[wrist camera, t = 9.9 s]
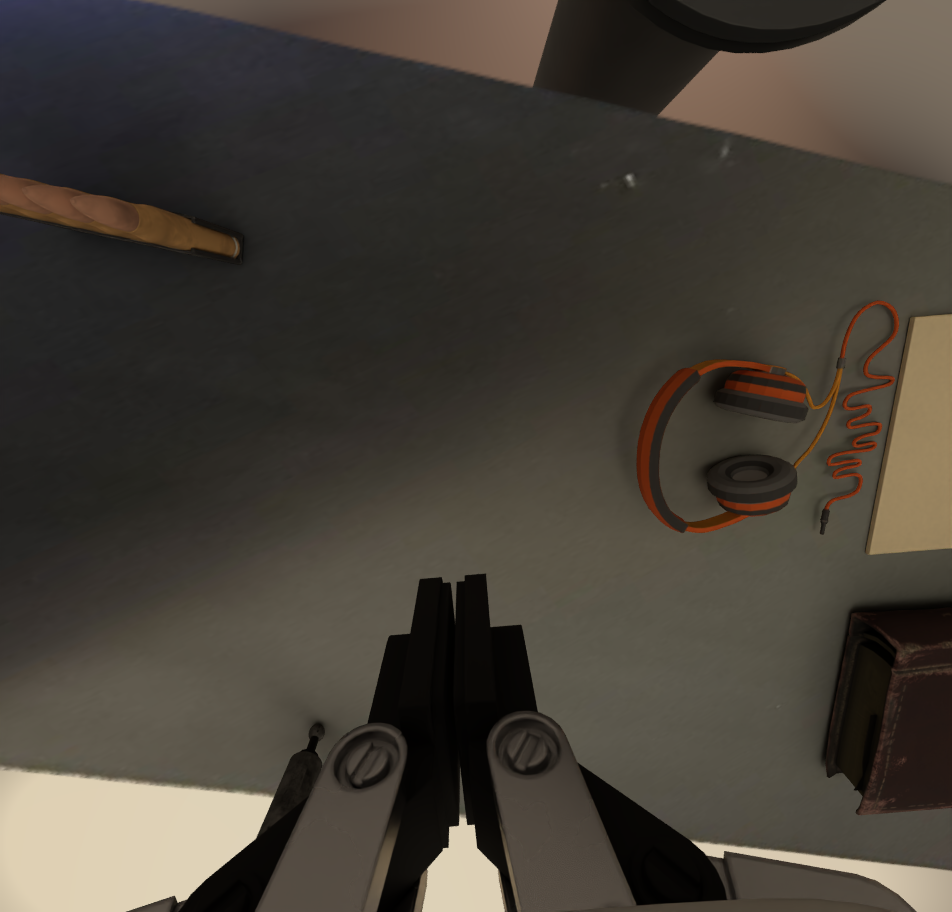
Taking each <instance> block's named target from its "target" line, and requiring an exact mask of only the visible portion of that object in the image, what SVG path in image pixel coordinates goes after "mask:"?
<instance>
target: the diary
mask: <svg viewBox="0 0 952 912" xmlns="http://www.w3.org/2000/svg"><path fill="white" fill-rule="evenodd" d="M849 634H850V636H848V637H847V643H846V648H845V653H844V658H843V663H842V668H841V673H840V678H839V683H838V689H837V694H836V699H835V704H834V709H833V714H832V719H831V724H830V730H829V738H828V746H827V754H826V762H825V765H826V772H827V777H828V778H830V777H832V776H833V775H835V774H836V773H844V774H845V776H846V777H847V778H848V779H849V780H850V782H851V783H852V784H853V785H854V786H855V789H854V790H858V791H859V792H860V794H861V795H862V796H863V797H862V800H861V803H860V806H859V808H858V809H857V810H856V814H858V815H868V814H880V813H893V812H905V811H918V810H931V809H943V808H952V607H948V608H939V609H923V610H900V611H878V612H861V613H852V614H851V622H850V627H849Z"/></svg>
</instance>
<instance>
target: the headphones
mask: <svg viewBox="0 0 952 912" xmlns="http://www.w3.org/2000/svg"><path fill="white" fill-rule="evenodd" d="M876 304H881V305H884V306H886V307H887V308H888V309H890V311H891V312H892V314H893V318H894V331H893V333H892V335H891V336H890V337H889V338H888V340H887V341H886V342H884V343H883V344H882V345H881V346H880V347H879V348H878V349H876V350H875V351H874V352H873V353H872V354H871V355H870V356H869V357H868V358H867V360H866V362H865V364H864V368H863V372H864V375H865V376H866V377H869V378H874V379H890V382H889V383H886V384H883V385H880V386H876V387H871V388H867V389H863V390H859V391H856V392H852V393H850V394H849V395H847V396H846V397H845V399H844V401H843V404H842V405H843V408H844V409H846V410H857V409H861V408H868V410H867V412H866V413H865V414H863V415H861V416H859V417H855V418H852V419H850V420H848V421H847V424H846V426H847V428H848V429H855V428H860V427H865V426H872V425H878V429H877V430H876V431H875V432H873V433H868V434H864V435H861V436H859V437H857V438H855V439H854V440H853V441H852V445H853V447H863V446H868V445H873V446H872V447H870V448H867V449H859V450H851V451H843V452H839V453H835V454H832V455H831V456H829V457H828V459H827V465H829V466H835V465H840V464H845V463H852V462H858V463H857V464H854V465H850V466H845V467H842V468H838V469H836V470H835V471H834V472H833V475H832V477H833V478H834V479H839V478H844V477H850V476H857V477H858V478H859V483H858V486H857V488H856V490H855V491H853V492H852V493H850V494H848V495H844V496H840V497H836V498H833V499H831V500H830V501H829V502H828V503H827V504H826V506H825V508H824V509H823V510H822V516H821V519H820V520H821V523H822V524H821V530H820V534H822V535H824V531H825V526H826V524H827V523H828V517H829V512H830V511H829V509H828V508H829V506H830V505H831V504H832V503H833V502H834V501H837V500H841V499H845V498H849V497H851V496H853V495H855V494H857V493H858V492H859V490H860V489H861V486H862V482H863V478H862V476H861V475H860V474H858V473H850V474H844V475H839V476H836V474H837V473H838V472H840V471H843V470H846V469H850V468H855V467H858V466H860V465H861V464H862V461H861V460H860V459H853V460H846V461H840V462H835V463H831V459H832V458H834V457H836V456H839V455H843V454H850V453H859V452H867V451H871V450H873V449H875V448H876V446H877V443H876V442H868V443H863V444H857V445H856V442H857V441H858V440H860V439H863V438H865V437H868V436H873V435H876V434H878V433H880V431H881V429H882V424H881V423H879V422H872V423H865V424H860V425H855V426H850V424H851V422H853V421H856V420H859V419H862V418H864V417H866V416H868V415H869V414H870V413H871V411H872V406H871V405H869V404H866V405H861V406H857V407H847V402H848V400H849V399H850V397H852V396H854V395H856V394H860V393H864V392H868V391H871V390H876V389H880V388H884V387H887V386H890V385H892V384H893V383H894V381H895V379H894V377H892V376H876V375H871V374H869V373H868V365H869V363H870V361H871V359H872V358H873V357H874V356H875V355H876V354H877V353H878V352H880V351H881V350H882V349H883V348H884V347H885V346H886V345H888V344H889V343H890V342H891V341H892V340H893V339H894V337H895V336H896V334H897V332H898V327H899V319H898V315H897V312H896V310H895V309H894V307H893V306H891V305H890V304H889V303H886V302H884V301H875V302H872V303H869V304H868V305H866V306H864V307H863V308H862V309H861V310H860V311H858V313H857V314H856V315H855V316H854V318H853V319H852V321H851V323H850V325H849V327H848V329H847V332H846V335H845V337H844V341H843V345H842V349H841V354H840V358H838V361H837V366H836V368H837V373H836V377H835V380H834V383H833V386H832V388H831V390H830V393H829V394H828V396H827V398H826V399H825V400H824V402H823V403H821V404H820V405H818V406H814V405H813V402H812V400H811V397H810V395H809V392H808V390H807V388H806V386H805V385H804V383H803V382H802V381H801V380H800V379H799V378H798V377H796V376H795V375H793V374H791V373H789V372H786V370H787V369H786V368H783V367H778V366H772V365H765V364H759V363H754V362H747V361H736V360H709V361H704V362H702V363H699V364H696V365H694V366H692V367H690V368H684V369H681V370H679V371H677V372H676V373H675V374H674V375H673V376H672V377H671V378H670V379H669V380H668V381H667V382H666V383H665V384H664V385H663V386H662V388H661V389H660V390H659V392H658V393H657V394H656V396H655V397H654V399H653V401H652V403H651V404H650V406H649V408H648V410H647V413H646V415H645V418H644V421H643V424H642V427H641V430H640V435H639V440H638V447H637V465H636V466H637V478H638V483H639V488H640V491H641V494H642V496H643V499H644V501H645V503H646V504H647V506H648V508H649V509H650V510H651V511H652V512H653V514H654V515H655V516H656V517H657V518H658V519H659V520H660V521H661V522H662V523H663V524H665V525H666V526H667V527H669V528H671V529H673V530H675V531H678V532H681V533H684V532H685V531H689V532H694V533H705V532H709V531H714V530H718V529H720V528H723V527H726V526H729V525H731V524H734V523H737V522H739V521H741V520H743V519H745V518H747V517H749V516H763V515H767V514H770V513H773V512H776V511H779V510H781V509H782V508H783V507H785V506H786V505H787V504H788V501H789V498H790V495H791V492H792V491H793V490H794V489H795V488H796V486H797V472H796V467H797V466H798V464H799V463H800V462H801V461H802V460H803V459H804V458H805V457H806V456H807V455H808V454H809V453H810V451H811V450H812V449H813V448H814V446H815V444H816V443H817V441H818V440H819V438H820V436H821V434H822V433H823V431H824V429H825V427H826V425H827V423H828V421H829V418H830V416H831V414H832V411H833V408H834V405H835V402H836V398H837V394H838V391H839V386H840V381H841V376H842V369H844V368H845V362H846V358H844V356H845V350H846V346H847V342H848V338H849V336H850V333H851V330H852V328H853V326H854V324H855V322H856V320H857V319H858V317H859V316H860V315H861V314H862V313H863V312H864V311H865V310H866V309H868V308H869V307H871V306H873V305H876ZM727 366H737V367H745V368H749V369H752V370H755V371H749V370H738V371H735V372H733V373H731V374H730V375H729V377H728V379H727V380H726V383H725V387H724V388H722V389H720V390H718V391H716V394H715V397H714V401H713V402H714V403H715V404H716V405H717V406H718V407H720V408H722V409H725V410H729V411H733V412H737V413H741V414H746V415H750V416H755V417H760V418H765V419H770V420H775V421H780V422H786V423H798V422H801V421H803V420H805V417H806V415H807V412H808V408H807V407H806V405H805V404H804V403H803V402H804V399H805V396H806V398H807V401H808V403H809V406H810V407H811V408H812V409H819V408H821V407H823V406H825V405H826V404H827V403H828V401H829V400H830V398H831V397H832V395H833V397H832V401H831V404H830V408H829V410H828V413H827V415H826V418H825V420H824V422H823V424H822V426H821V428H820V430H819V432H818V434H817V436H816V437H815V439H814V441H813V442H812V444H811V445H810V447H809V448H808V449H807V451H806V452H805V453H804V454H803V455H802V456H801V457H800V458H799V459H798V460H797V461H796V462H795V463H794V465H791V464H790V463H789V462H787V461H784V460H782V459H780V458H777V457H772V456H767V455H744V456H738V457H733V458H730V459H727V460H724V461H722V462H720V463H718V464H717V465H715V466H714V467H713V468H711V469H710V470H709V471H708V474H707V484H708V489H709V491H710V492H711V493H712V494H713V495H714V496H716V498H717V501H718V503H719V505H720V506H721V507H722V508H724V509H725V510H726V511H727V512H725V513H723V514H720V515H718V516H715V517H712V518H709V519H706V520H702V521H697V522H685V521H684V520H683V519H682V518H680V517H679V516H677V515H675V514H674V513H673V512H672V511H671V510H670V509H669V507H668V506H667V504H666V502H665V500H664V497H663V494H662V490H661V487H660V479H659V458H660V449H661V443H662V439H663V435H664V432H665V428H666V426H667V424H668V421H669V419H670V416H671V415H672V413H673V411H674V409H675V407H676V406H677V404H678V403H679V402H680V400H681V399H682V398H683V396H684V395H685V394H686V393H687V392H688V391H689V390H690V389H691V388H692V387H693V386H694V385H695V384H696V383H697V382H699V380H700V376H701V375H703V374H705V373H706V372H708V371H711V370H713V369H716V368H720V367H727ZM785 375H787V376H789V377H786V376H785ZM833 393H834V394H833Z"/></svg>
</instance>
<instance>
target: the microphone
mask: <svg viewBox="0 0 952 912" xmlns="http://www.w3.org/2000/svg"><path fill="white" fill-rule="evenodd" d="M324 733H325V730H324V727H323V726H322V725H319V724H317V725H314V726H313V727H312V728H311V729H310V731H309V738H310V741H309V744H308V746H307V749H304V750H302V751H300V752H298V753H296V754H294V755H293V756H292V757H291V759H290V761H289V764H288V766H287V768H286V770H285V773H284V775H283V777H282V780H281V782H280V784H279V787H278V789H277V791H276V794H275V796H274V798H273V801H272V803H271V805H270V808H269V810H268V813H267V815H266V817H265V819H264V822H263V824H262V826H261V829H260V831H259V833H258V836H257V838H258V837H259V836H260V835H261V834H262V833H264V832H265V831H266V830H267V829H269V828H270V827H271V826H272V825H273V824H275V823H276V822H277V821H278V820H280V819H281V818H282V817H283V816H284V815H286V814H287V813H288V812H289V811H291V810H292V809H293V808H294V807H295V806H297V805H298V804H299V803H300V802H302V801H303V800H304V799H305V798H306V797H308V796H309V795H310V793H311V791H312V789H313V787H314V784H315V782H316V780H317V778H318V776H319V774H320V771H321V768H322V762H321V759H320V758H319V757H318V754H317V753H316V752H315V749H316V746H317V743H318V741H320V740H321V739H322V738H323V736H324Z"/></svg>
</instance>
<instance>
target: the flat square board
mask: <svg viewBox="0 0 952 912" xmlns="http://www.w3.org/2000/svg"><path fill="white" fill-rule="evenodd" d="M946 548H952V314H943V315H931V316H919V317H911V318H910V322H909V327H908V332H907V337H906V343H905V348H904V353H903V358H902V364H901V369H900V374H899V379H898V384H897V390H896V395H895V400H894V405H893V410H892V416H891V421H890V426H889V431H888V436H887V442H886V447H885V452H884V457H883V462H882V468H881V473H880V478H879V483H878V489H877V494H876V499H875V504H874V509H873V515H872V520H871V525H870V530H869V535H868V541H867V546H866V551H865V553H867V554H869V555H873V554H885V553H897V552H910V551H922V550H934V549H946Z"/></svg>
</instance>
